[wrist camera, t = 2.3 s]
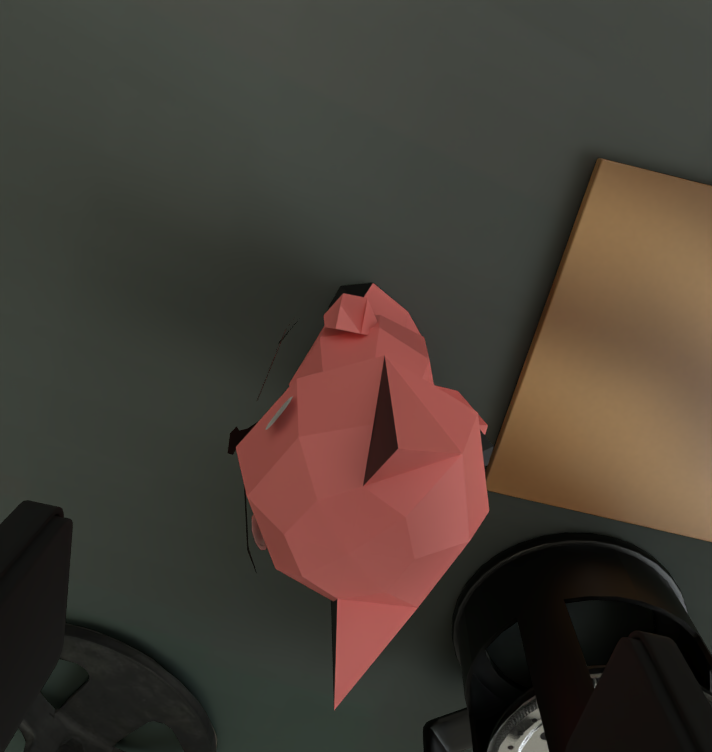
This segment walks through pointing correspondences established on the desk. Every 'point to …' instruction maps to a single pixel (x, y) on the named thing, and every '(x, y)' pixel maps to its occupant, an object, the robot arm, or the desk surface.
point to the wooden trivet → (621, 362)
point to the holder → (114, 701)
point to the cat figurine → (365, 475)
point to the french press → (550, 639)
